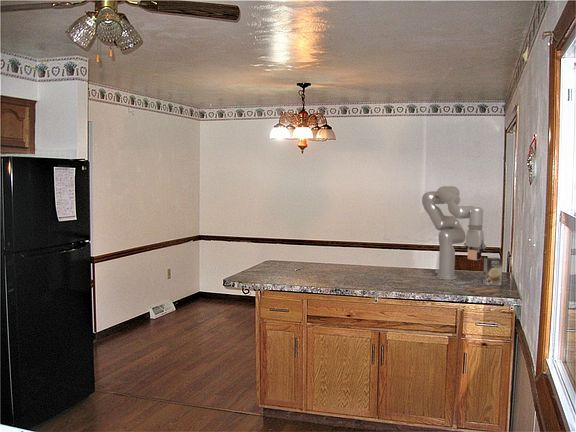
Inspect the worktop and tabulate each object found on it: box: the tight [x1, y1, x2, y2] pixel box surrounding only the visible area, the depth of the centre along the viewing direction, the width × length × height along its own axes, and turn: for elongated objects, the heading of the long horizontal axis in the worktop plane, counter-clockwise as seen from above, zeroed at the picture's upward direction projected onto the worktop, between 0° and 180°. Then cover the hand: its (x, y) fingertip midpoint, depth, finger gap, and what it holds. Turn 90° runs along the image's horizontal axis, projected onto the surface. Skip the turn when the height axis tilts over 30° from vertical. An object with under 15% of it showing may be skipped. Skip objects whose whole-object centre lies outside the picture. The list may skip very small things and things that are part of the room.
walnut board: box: [464, 285, 502, 296], centre depth 319 cm, size 14×14×1 cm
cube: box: [467, 248, 481, 261], centre depth 331 cm, size 6×6×6 cm
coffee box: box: [482, 257, 503, 286], centre depth 338 cm, size 9×6×16 cm
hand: (474, 257), depth 332 cm, fingers closed on cube, 5 cm apart
